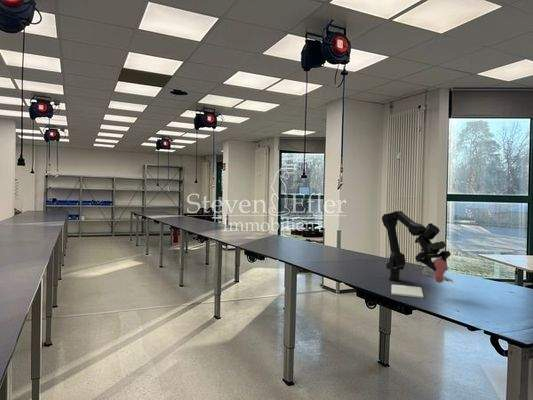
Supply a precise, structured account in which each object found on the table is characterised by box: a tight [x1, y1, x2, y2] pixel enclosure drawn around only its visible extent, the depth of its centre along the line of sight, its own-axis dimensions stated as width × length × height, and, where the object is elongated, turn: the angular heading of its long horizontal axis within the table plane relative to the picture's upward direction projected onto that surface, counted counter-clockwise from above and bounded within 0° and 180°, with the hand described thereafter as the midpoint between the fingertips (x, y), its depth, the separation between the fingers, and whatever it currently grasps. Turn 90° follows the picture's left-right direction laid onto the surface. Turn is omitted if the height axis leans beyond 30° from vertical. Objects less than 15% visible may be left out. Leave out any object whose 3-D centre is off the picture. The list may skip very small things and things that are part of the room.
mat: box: [390, 284, 424, 299], centre depth 203 cm, size 19×15×1 cm
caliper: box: [422, 265, 454, 283], centre depth 238 cm, size 20×1×6 cm, turn 30°
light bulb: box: [432, 258, 448, 284], centre depth 198 cm, size 7×7×12 cm
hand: (441, 270), depth 197 cm, fingers closed on light bulb, 7 cm apart
